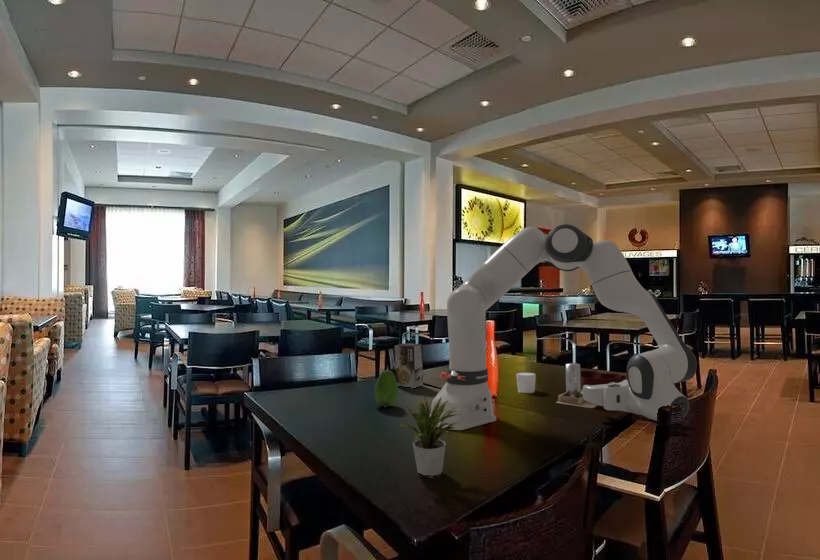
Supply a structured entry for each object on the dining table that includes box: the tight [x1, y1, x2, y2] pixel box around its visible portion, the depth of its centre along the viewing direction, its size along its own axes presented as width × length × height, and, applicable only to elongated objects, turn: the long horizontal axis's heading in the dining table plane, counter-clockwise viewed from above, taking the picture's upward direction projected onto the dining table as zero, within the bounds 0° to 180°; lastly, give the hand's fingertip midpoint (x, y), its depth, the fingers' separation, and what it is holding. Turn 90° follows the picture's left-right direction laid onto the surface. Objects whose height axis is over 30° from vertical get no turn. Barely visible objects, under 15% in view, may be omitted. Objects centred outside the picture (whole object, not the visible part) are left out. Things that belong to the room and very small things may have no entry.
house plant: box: [400, 396, 464, 476], centre depth 106 cm, size 14×14×16 cm
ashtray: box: [580, 369, 627, 389], centre depth 188 cm, size 18×16×5 cm
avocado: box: [373, 369, 399, 407], centre depth 163 cm, size 8×8×12 cm
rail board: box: [555, 389, 599, 409], centre depth 168 cm, size 24×12×3 cm, turn 140°
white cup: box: [515, 371, 537, 394], centre depth 179 cm, size 7×7×7 cm
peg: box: [565, 362, 582, 398], centre depth 164 cm, size 4×4×12 cm
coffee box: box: [394, 342, 424, 389], centre depth 194 cm, size 9×6×16 cm
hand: (597, 386), depth 153 cm, fingers open, 8 cm apart
